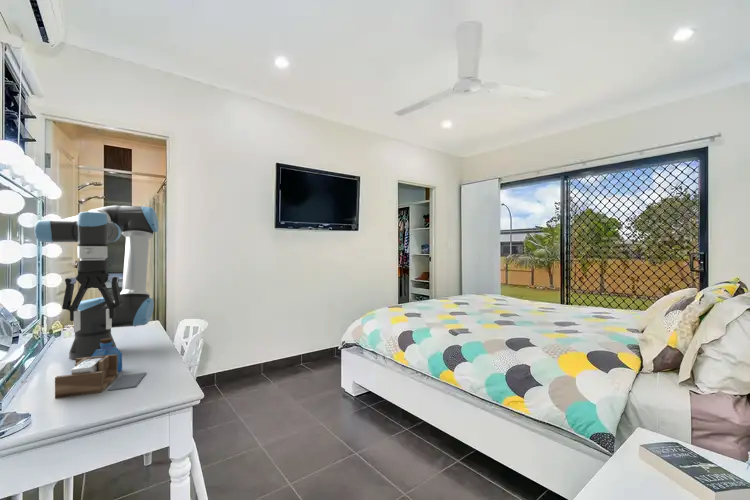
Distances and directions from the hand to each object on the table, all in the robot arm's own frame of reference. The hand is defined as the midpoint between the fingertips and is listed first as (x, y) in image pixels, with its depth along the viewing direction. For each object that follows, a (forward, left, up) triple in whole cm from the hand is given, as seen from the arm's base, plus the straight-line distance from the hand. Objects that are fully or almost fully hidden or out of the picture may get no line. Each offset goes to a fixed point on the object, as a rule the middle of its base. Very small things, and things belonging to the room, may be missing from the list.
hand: (93, 329), depth 111 cm
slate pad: (+4, +10, -17) cm, 20 cm away
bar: (+4, 0, -13) cm, 14 cm away
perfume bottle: (-9, +1, -17) cm, 20 cm away
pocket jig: (+4, 0, -17) cm, 18 cm away
